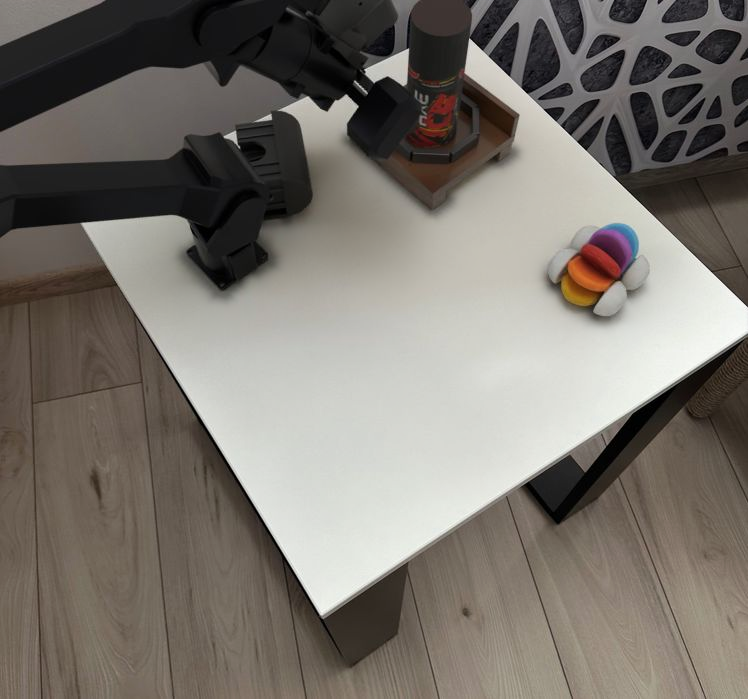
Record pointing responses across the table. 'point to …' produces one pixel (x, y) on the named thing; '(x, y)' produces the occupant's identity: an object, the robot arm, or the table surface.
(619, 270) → the rainbow disc toy
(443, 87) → the deodorant
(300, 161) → the end cap
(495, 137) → the shelf
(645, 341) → the table surface
